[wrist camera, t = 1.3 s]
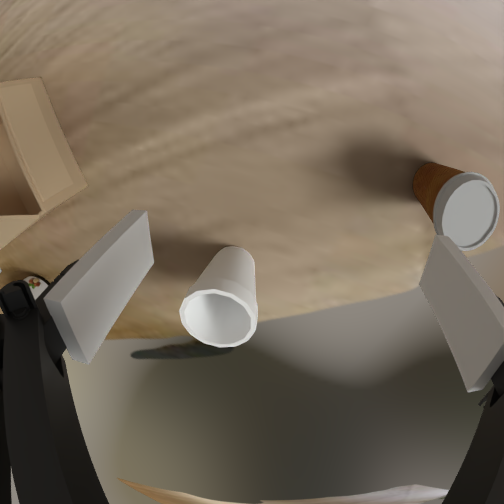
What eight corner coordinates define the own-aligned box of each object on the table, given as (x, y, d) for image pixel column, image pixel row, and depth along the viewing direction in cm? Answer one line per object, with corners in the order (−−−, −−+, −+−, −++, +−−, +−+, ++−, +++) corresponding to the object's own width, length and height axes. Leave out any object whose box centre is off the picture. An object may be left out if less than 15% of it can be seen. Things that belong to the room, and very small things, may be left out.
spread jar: (62, 289, 55) (32, 323, 45) (60, 320, 61) (36, 352, 51) (24, 262, 53) (-7, 292, 43) (25, 295, 59) (-1, 324, 49)
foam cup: (193, 265, 48) (166, 319, 37) (227, 224, 44) (205, 274, 32) (240, 298, 50) (227, 357, 39) (277, 262, 46) (272, 320, 35)
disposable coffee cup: (414, 141, 34) (457, 162, 24) (465, 165, 34) (512, 192, 24) (393, 204, 39) (425, 243, 29) (444, 221, 39) (481, 262, 29)
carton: (-8, 133, 39) (-48, 149, 29) (43, 74, 33) (-5, 80, 24) (32, 224, 48) (-3, 252, 38) (90, 184, 43) (48, 210, 33)
